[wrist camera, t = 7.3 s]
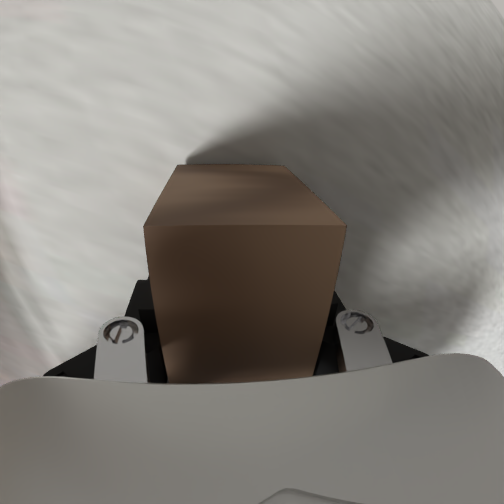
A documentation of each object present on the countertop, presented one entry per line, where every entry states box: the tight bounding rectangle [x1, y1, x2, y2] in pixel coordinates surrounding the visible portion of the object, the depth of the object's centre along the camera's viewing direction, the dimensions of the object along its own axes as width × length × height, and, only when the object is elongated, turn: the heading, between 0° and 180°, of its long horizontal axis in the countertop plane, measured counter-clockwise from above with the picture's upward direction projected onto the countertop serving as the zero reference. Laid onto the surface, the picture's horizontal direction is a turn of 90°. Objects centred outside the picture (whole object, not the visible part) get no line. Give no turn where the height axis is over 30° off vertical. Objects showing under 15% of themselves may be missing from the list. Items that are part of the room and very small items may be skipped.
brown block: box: [143, 164, 347, 384], centre depth 12 cm, size 4×18×6 cm, turn 177°
